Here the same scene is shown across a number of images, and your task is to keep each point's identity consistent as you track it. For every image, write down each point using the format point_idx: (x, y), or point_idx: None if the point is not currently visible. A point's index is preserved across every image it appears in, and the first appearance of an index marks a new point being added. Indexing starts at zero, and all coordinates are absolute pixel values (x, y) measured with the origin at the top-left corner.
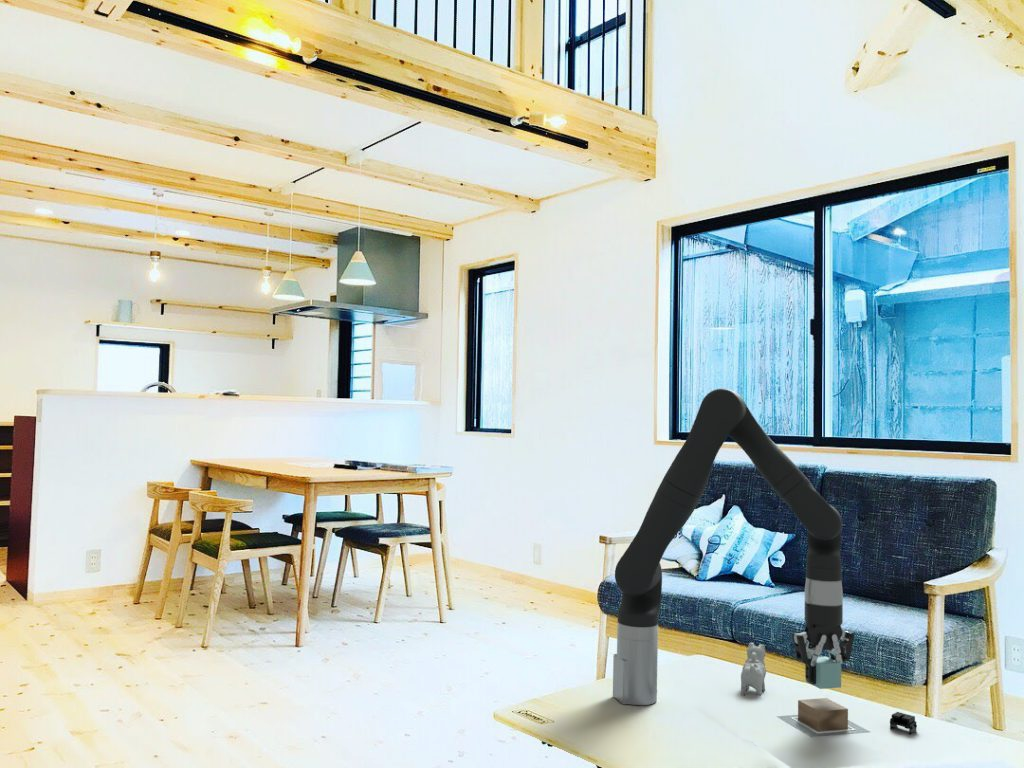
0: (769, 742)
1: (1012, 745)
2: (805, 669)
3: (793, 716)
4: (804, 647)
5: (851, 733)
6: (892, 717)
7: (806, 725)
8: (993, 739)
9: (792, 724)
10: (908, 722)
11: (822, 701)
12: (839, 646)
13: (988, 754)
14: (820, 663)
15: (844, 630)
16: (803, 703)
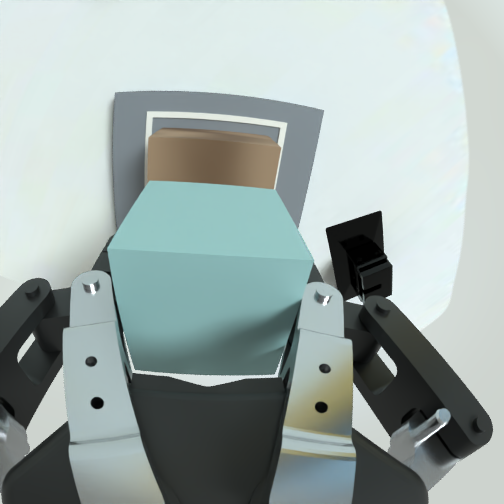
0: (39, 222)
1: (435, 317)
2: (96, 262)
3: (165, 102)
4: (24, 414)
5: None
6: (360, 275)
7: None
8: (442, 300)
9: (118, 163)
10: (362, 300)
11: (232, 175)
12: (405, 358)
13: None
14: (143, 362)
15: (480, 447)
16: (147, 171)
